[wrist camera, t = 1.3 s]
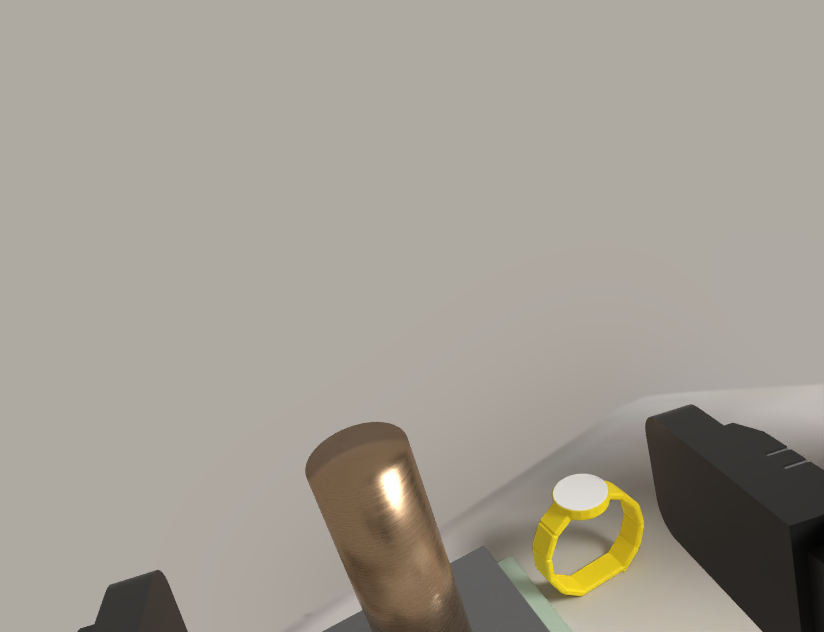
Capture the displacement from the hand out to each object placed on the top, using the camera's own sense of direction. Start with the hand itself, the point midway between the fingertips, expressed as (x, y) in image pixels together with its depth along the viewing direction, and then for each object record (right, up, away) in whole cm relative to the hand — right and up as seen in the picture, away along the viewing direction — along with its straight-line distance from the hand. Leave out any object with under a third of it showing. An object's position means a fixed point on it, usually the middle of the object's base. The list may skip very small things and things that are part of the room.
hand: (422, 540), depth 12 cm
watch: (+10, -10, +28) cm, 32 cm away
